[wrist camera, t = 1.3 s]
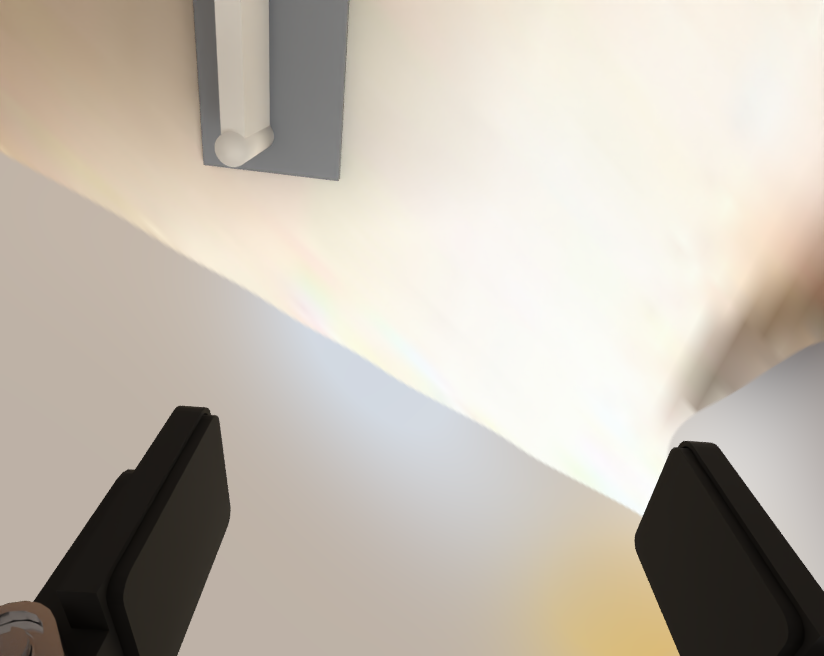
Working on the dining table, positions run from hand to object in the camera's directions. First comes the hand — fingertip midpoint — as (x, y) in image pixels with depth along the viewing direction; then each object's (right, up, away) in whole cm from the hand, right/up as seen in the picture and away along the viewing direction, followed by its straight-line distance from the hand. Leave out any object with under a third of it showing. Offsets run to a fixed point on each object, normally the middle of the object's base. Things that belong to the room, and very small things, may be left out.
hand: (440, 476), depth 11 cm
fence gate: (-8, +17, +13) cm, 23 cm away
